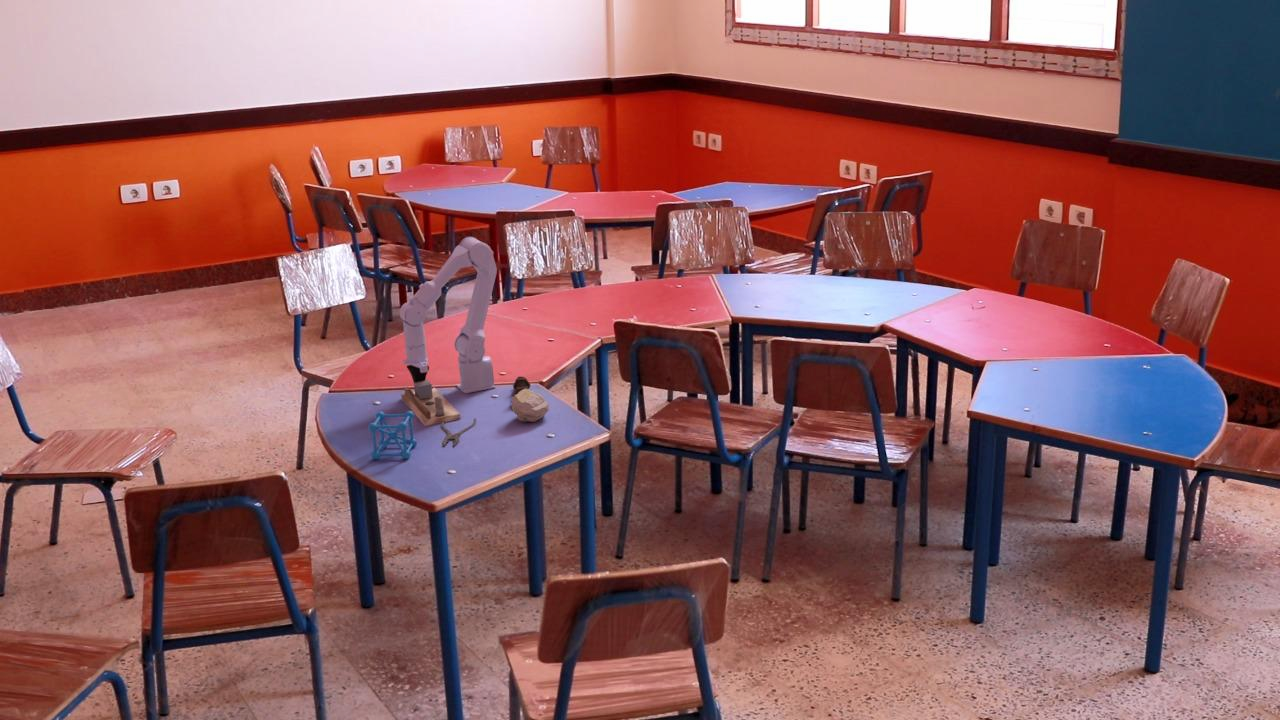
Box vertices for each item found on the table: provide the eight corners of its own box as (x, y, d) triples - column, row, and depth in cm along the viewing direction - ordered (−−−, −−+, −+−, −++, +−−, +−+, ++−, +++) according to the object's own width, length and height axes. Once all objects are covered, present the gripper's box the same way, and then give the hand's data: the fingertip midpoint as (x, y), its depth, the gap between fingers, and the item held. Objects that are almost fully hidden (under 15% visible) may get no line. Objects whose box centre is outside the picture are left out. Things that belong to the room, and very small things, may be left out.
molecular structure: (370, 461, 312) (366, 424, 309) (380, 445, 321) (376, 410, 318) (409, 460, 311) (405, 423, 308) (418, 445, 321) (414, 409, 318)
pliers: (475, 415, 338) (480, 442, 320) (476, 418, 338) (480, 445, 320) (440, 418, 337) (442, 446, 318) (440, 421, 337) (443, 449, 318)
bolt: (524, 392, 360) (526, 409, 346) (509, 385, 359) (510, 402, 345) (533, 375, 359) (535, 391, 345) (517, 368, 358) (519, 384, 344)
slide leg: (428, 392, 352) (427, 379, 351) (432, 397, 349) (431, 383, 348) (415, 395, 351) (413, 381, 349) (418, 399, 347) (417, 386, 346)
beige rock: (550, 410, 341) (514, 415, 341) (545, 381, 339) (509, 387, 339) (551, 423, 330) (514, 428, 329) (546, 393, 327) (509, 399, 327)
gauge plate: (435, 392, 358) (433, 371, 356) (460, 418, 337) (458, 396, 335) (401, 398, 354) (399, 377, 352) (425, 425, 333) (422, 403, 331)
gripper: (395, 339, 353) (399, 384, 357) (408, 353, 340) (413, 399, 345) (418, 335, 356) (423, 379, 360) (433, 349, 343) (437, 394, 347)
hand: (420, 389), depth 353 cm, fingers closed
